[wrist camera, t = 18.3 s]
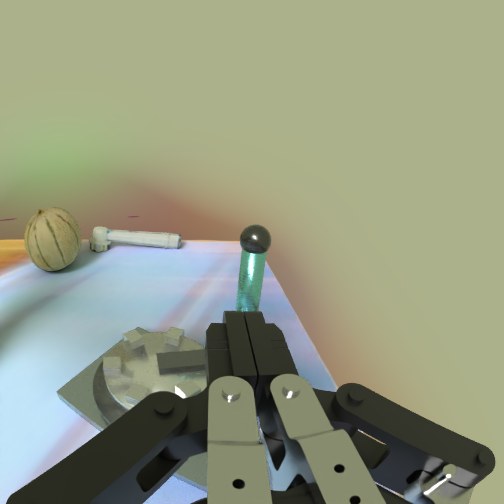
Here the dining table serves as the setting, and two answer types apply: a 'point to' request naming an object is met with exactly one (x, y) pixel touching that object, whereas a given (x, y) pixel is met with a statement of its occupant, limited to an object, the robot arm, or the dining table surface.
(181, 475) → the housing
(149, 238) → the beige piece
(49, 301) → the dining table surface
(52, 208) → the cantaloupe
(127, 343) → the crank handle wheel
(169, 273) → the dining table surface
